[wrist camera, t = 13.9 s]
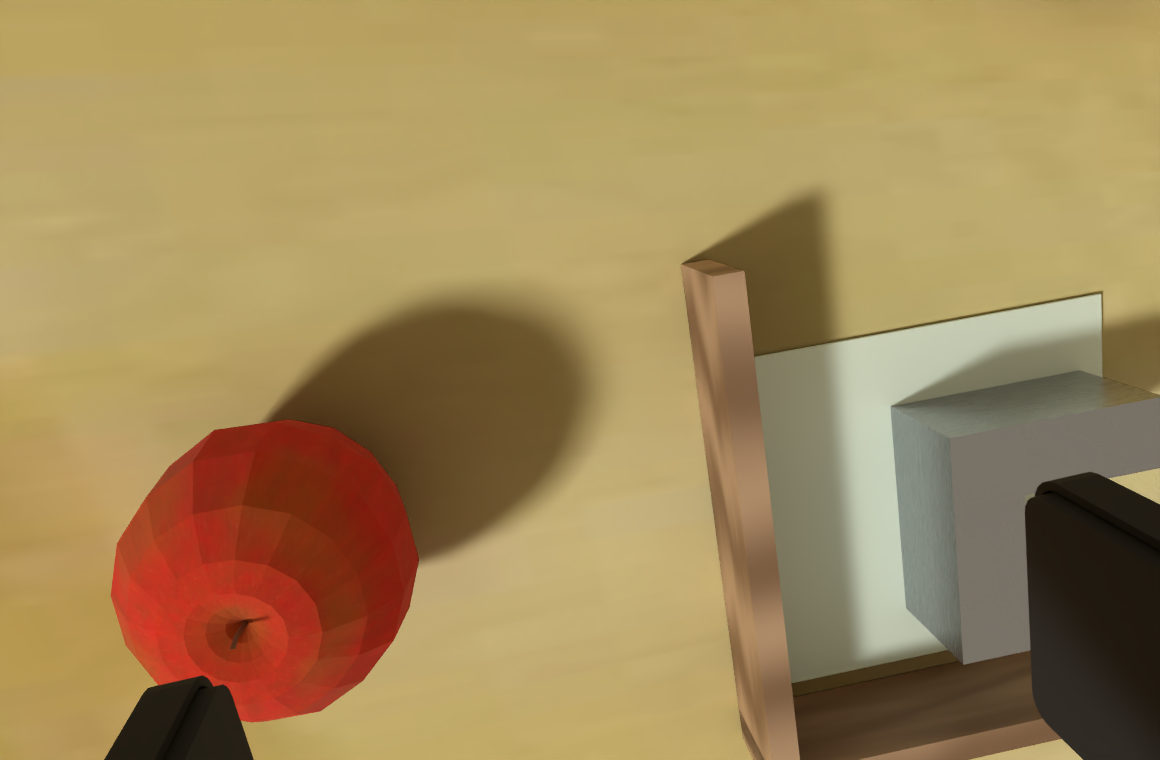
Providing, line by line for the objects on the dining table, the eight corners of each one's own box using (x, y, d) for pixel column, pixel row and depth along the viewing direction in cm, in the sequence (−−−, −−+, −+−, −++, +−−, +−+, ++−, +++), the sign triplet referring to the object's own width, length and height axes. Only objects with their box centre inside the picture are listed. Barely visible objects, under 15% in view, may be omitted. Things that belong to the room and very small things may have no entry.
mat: (752, 356, 38) (754, 357, 37) (1098, 293, 39) (1101, 294, 39) (789, 681, 41) (791, 683, 41) (1103, 613, 43) (1106, 616, 42)
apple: (199, 369, 35) (71, 457, 24) (447, 419, 37) (434, 523, 26) (163, 597, 37) (27, 777, 26) (399, 635, 39) (369, 819, 27)
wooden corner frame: (681, 264, 36) (712, 276, 32) (1126, 186, 38) (1221, 187, 33) (742, 738, 42) (777, 810, 37) (1130, 653, 43) (1212, 712, 39)
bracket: (890, 406, 39) (949, 438, 34) (1079, 370, 39) (1164, 396, 35) (905, 607, 41) (963, 664, 36) (1084, 570, 42) (1164, 621, 37)
